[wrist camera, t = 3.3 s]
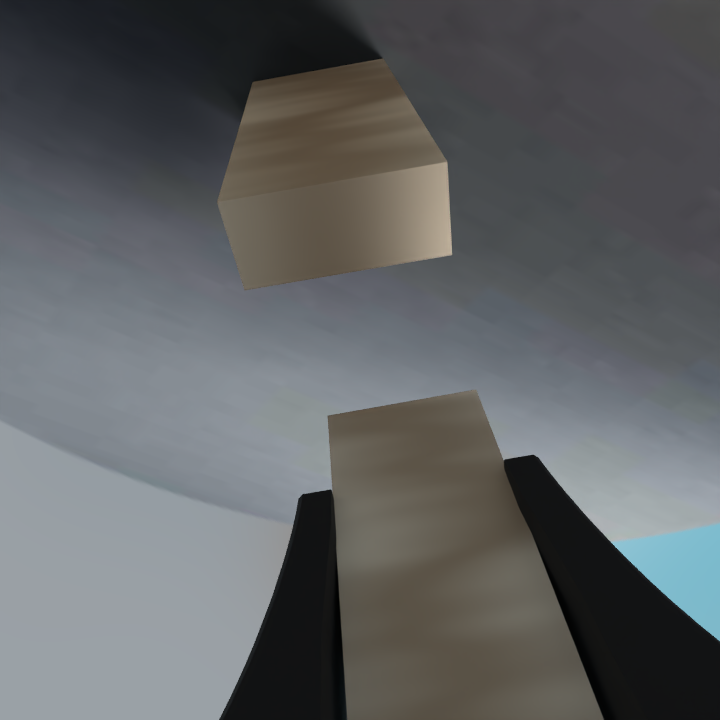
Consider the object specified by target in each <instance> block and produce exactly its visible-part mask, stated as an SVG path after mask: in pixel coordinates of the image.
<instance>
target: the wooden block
mask: <svg viewBox="0 0 720 720" xmlns="http://www.w3.org/2000/svg"><path fill="white" fill-rule="evenodd" d="M328 428H329V443H330V459H331V474H332V490H333V497H334V508H335V524H336V539H337V541H336V552H337V568H338V583H339V599H340V614H341V630H342V645H343V661H344V676H345V692H346V707H347V720H604V719H603V716H602V714H601V711H600V708H599V706H598V703H597V701H596V698H595V695H594V693H593V690H592V688H591V685H590V683H589V680H588V677H587V675H586V672H585V670H584V667H583V664H582V662H581V659H580V657H579V654H578V652H577V649H576V646H575V644H574V641H573V639H572V636H571V634H570V631H569V628H568V626H567V623H566V621H565V618H564V615H563V613H562V610H561V608H560V605H559V603H558V600H557V597H556V595H555V592H554V590H553V587H552V584H551V582H550V579H549V577H548V574H547V572H546V569H545V566H544V564H543V561H542V559H541V556H540V554H539V551H538V548H537V546H536V543H535V541H534V538H533V535H532V533H531V531H530V529H529V527H528V525H527V523H526V521H525V519H524V517H523V515H522V513H521V511H520V509H519V507H518V504H517V501H516V499H515V496H514V494H513V491H512V488H511V486H510V483H509V480H508V478H507V475H506V473H505V470H504V461H503V458H502V455H501V453H500V450H499V448H498V445H497V443H496V440H495V437H494V435H493V432H492V430H491V427H490V424H489V422H488V419H487V417H486V414H485V412H484V409H483V406H482V404H481V401H480V399H479V396H478V393H477V391H476V390H471V391H465V392H459V393H454V394H448V395H442V396H437V397H431V398H425V399H420V400H414V401H408V402H403V403H397V404H391V405H386V406H380V407H374V408H369V409H363V410H357V411H352V412H346V413H340V414H335V415H329V416H328Z"/></svg>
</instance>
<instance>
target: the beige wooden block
mask: <svg viewBox="0 0 720 720" xmlns="http://www.w3.org/2000/svg"><path fill="white" fill-rule="evenodd" d="M217 203H218V207H219V210H220V213H221V216H222V219H223V222H224V226H225V229H226V232H227V235H228V238H229V242H230V245H231V248H232V251H233V254H234V258H235V261H236V264H237V267H238V270H239V274H240V277H241V280H242V283H243V286H244V290H250V289H256V288H261V287H267V286H273V285H279V284H285V283H291V282H296V281H302V280H308V279H314V278H320V277H326V276H332V275H337V274H343V273H349V272H355V271H361V270H367V269H372V268H378V267H384V266H390V265H396V264H402V263H407V262H413V261H419V260H425V259H431V258H437V257H442V256H448V255H452V244H451V225H450V206H449V186H448V167H447V161H446V159H445V157H444V156H443V154H442V153H441V151H440V149H439V148H438V146H437V145H436V143H435V141H434V140H433V138H432V137H431V135H430V133H429V132H428V130H427V128H426V127H425V125H424V124H423V122H422V120H421V119H420V117H419V116H418V114H417V112H416V111H415V109H414V108H413V106H412V104H411V103H410V101H409V100H408V98H407V96H406V95H405V93H404V91H403V90H402V88H401V87H400V85H399V83H398V82H397V80H396V79H395V77H394V75H393V74H392V72H391V71H390V69H389V67H388V66H387V64H386V63H385V61H384V59H378V60H372V61H367V62H361V63H355V64H350V65H344V66H339V67H333V68H327V69H322V70H316V71H311V72H305V73H300V74H294V75H288V76H283V77H277V78H272V79H266V80H261V81H255V82H253V83H252V86H251V89H250V93H249V96H248V100H247V103H246V106H245V110H244V113H243V116H242V120H241V123H240V127H239V130H238V133H237V137H236V140H235V143H234V147H233V150H232V154H231V157H230V160H229V164H228V167H227V170H226V174H225V177H224V181H223V184H222V187H221V191H220V194H219V197H218V201H217Z"/></svg>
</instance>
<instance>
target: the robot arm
mask: <svg viewBox="0 0 720 720" xmlns="http://www.w3.org/2000/svg"><path fill="white" fill-rule="evenodd" d="M504 470H505V473H506V475H507V478H508V480H509V483H510V486H511V488H512V491H513V494H514V496H515V499H516V501H517V504H518V507H519V509H520V511H521V513H522V515H523V517H524V519H525V521H526V523H527V525H528V527H529V529H530V531H531V533H532V535H533V538H534V541H535V543H536V546H537V548H538V551H539V554H540V556H541V559H542V561H543V564H544V566H545V569H546V572H547V574H548V577H549V579H550V582H551V584H552V587H553V590H554V592H555V595H556V597H557V600H558V603H559V605H560V608H561V610H562V613H563V615H564V618H565V621H566V623H567V626H568V628H569V631H570V634H571V636H572V639H573V641H574V644H575V646H576V649H577V652H578V654H579V657H580V659H581V662H582V664H583V667H584V670H585V672H586V675H587V677H588V680H589V683H590V685H591V688H592V690H593V693H594V695H595V698H596V701H597V703H598V706H599V708H600V711H601V714H602V716H603V719H604V720H720V641H719V640H717V639H716V638H715V637H714V636H712V635H711V634H710V633H709V632H707V631H706V630H705V629H704V628H703V627H701V626H700V625H699V624H698V623H696V622H695V621H694V620H693V619H692V618H691V617H690V616H688V615H687V614H686V613H685V612H684V611H683V610H681V609H680V608H679V607H678V606H677V605H675V603H673V602H672V601H671V600H670V599H669V598H668V597H667V596H666V595H665V594H663V593H662V592H661V591H660V590H659V589H658V588H657V587H656V586H655V585H653V583H651V582H650V581H649V580H648V579H647V578H646V577H645V576H644V575H643V574H642V573H641V572H640V571H639V570H638V569H637V568H636V567H635V566H634V565H633V564H632V563H631V562H630V561H629V560H628V559H627V558H626V557H625V556H624V555H623V554H622V553H621V552H620V551H619V550H618V549H617V548H615V546H614V545H613V544H612V543H611V542H610V541H609V540H608V539H607V538H606V537H605V536H604V535H603V533H602V532H601V531H600V530H599V529H598V528H597V527H596V526H595V525H594V524H593V523H592V522H591V521H590V520H589V518H588V517H587V516H586V515H585V514H584V513H583V512H582V511H581V510H580V508H579V507H578V506H577V505H576V504H575V503H574V501H573V500H572V499H571V498H570V497H569V496H568V494H567V493H566V492H565V491H564V490H563V488H562V487H561V486H560V485H559V484H558V482H557V481H556V480H555V479H554V477H553V476H552V475H551V474H550V472H549V471H548V470H547V468H546V467H545V466H544V465H543V463H542V462H541V461H540V459H539V458H538V457H536V456H535V455H529V456H523V457H517V458H511V459H505V460H504ZM336 541H337V539H336V524H335V508H334V497H333V494H332V490H326V491H320V492H314V493H308V494H303V495H302V496H301V497H300V498H299V499H298V505H297V511H296V516H295V520H294V525H293V529H292V534H291V537H290V541H289V544H288V548H287V551H286V555H285V559H284V562H283V565H282V568H281V571H280V575H279V577H278V581H277V584H276V587H275V590H274V593H273V596H272V599H271V602H270V604H269V607H268V609H267V612H266V615H265V618H264V620H263V623H262V625H261V628H260V630H259V633H258V636H257V638H256V641H255V643H254V646H253V648H252V651H251V653H250V655H249V657H248V660H247V662H246V665H245V667H244V669H243V671H242V673H241V676H240V678H239V680H238V682H237V684H236V686H235V689H234V691H233V693H232V695H231V697H230V699H229V701H228V703H227V706H226V708H225V709H224V711H223V713H222V715H221V717H220V719H219V720H347V707H346V692H345V676H344V661H343V645H342V630H341V614H340V599H339V583H338V568H337V552H336Z"/></svg>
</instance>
